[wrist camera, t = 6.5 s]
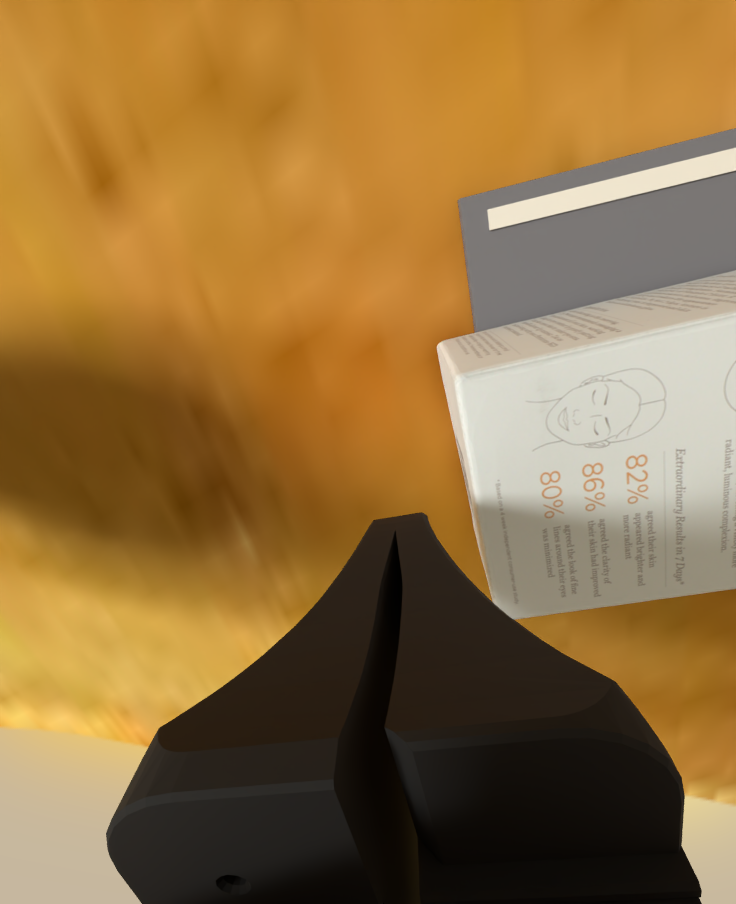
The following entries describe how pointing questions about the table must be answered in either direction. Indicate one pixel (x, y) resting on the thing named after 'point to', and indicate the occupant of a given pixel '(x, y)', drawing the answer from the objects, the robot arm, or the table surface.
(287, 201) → the table surface
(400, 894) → the robot arm
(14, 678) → the table surface
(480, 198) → the mat
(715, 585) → the small box
